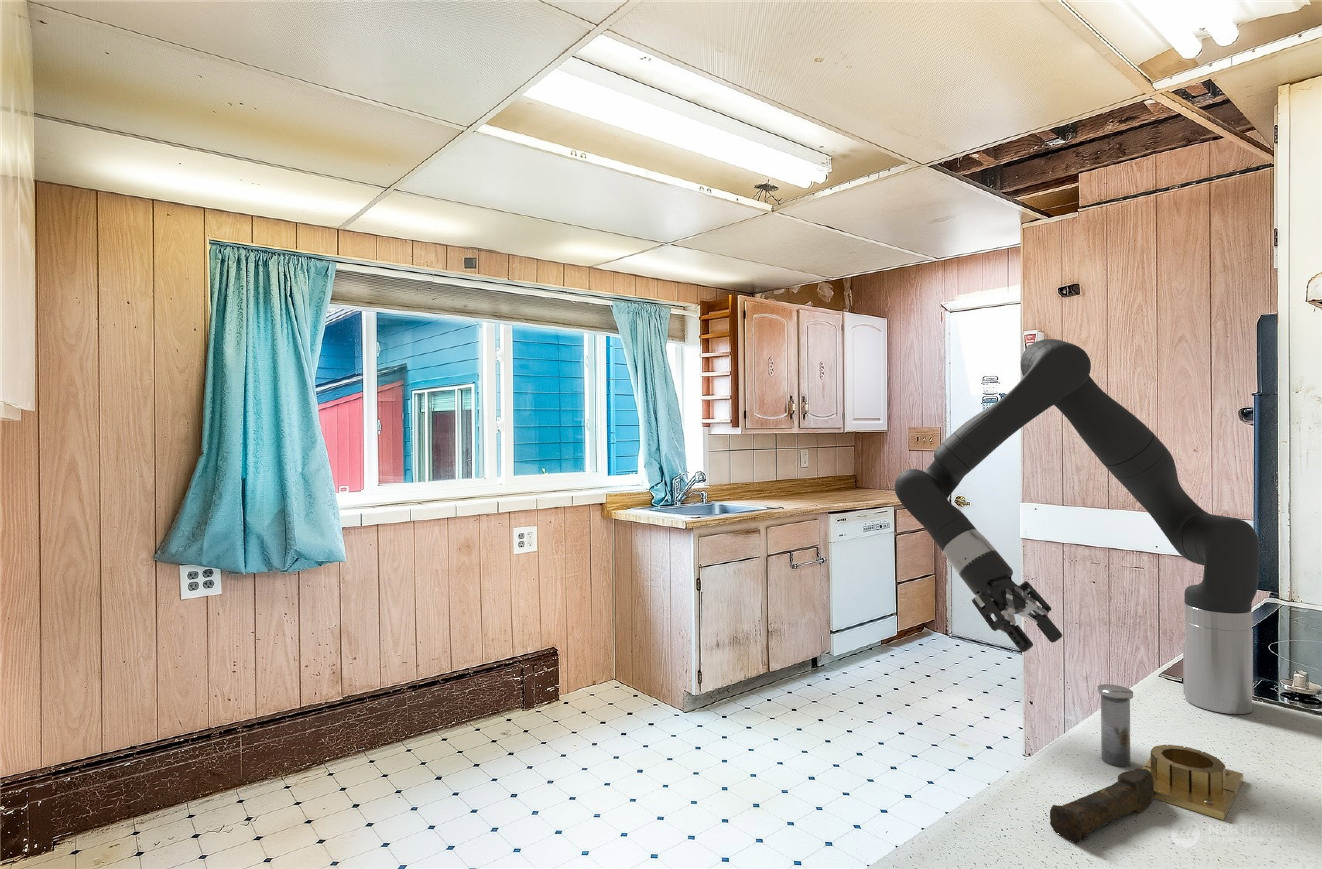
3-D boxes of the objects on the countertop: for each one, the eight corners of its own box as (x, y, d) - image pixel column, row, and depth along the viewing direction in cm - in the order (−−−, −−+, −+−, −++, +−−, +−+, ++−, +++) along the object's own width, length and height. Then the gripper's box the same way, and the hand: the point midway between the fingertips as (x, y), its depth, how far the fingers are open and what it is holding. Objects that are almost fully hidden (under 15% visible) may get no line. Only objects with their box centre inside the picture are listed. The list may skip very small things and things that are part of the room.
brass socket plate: (1156, 756, 104) (1156, 731, 104) (1243, 780, 97) (1242, 753, 97) (1130, 790, 95) (1130, 762, 95) (1223, 820, 87) (1223, 790, 87)
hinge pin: (1092, 753, 105) (1092, 683, 105) (1124, 754, 105) (1123, 684, 105) (1107, 767, 101) (1106, 694, 101) (1140, 769, 100) (1139, 695, 100)
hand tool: (1079, 850, 82) (1079, 811, 82) (1048, 832, 86) (1047, 794, 86) (1175, 810, 90) (1175, 775, 90) (1143, 796, 94) (1143, 761, 94)
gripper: (965, 553, 115) (1035, 640, 106) (1014, 544, 123) (1083, 624, 113) (937, 579, 120) (1002, 665, 110) (987, 569, 127) (1051, 648, 118)
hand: (1043, 644), depth 112 cm, fingers open, 8 cm apart
